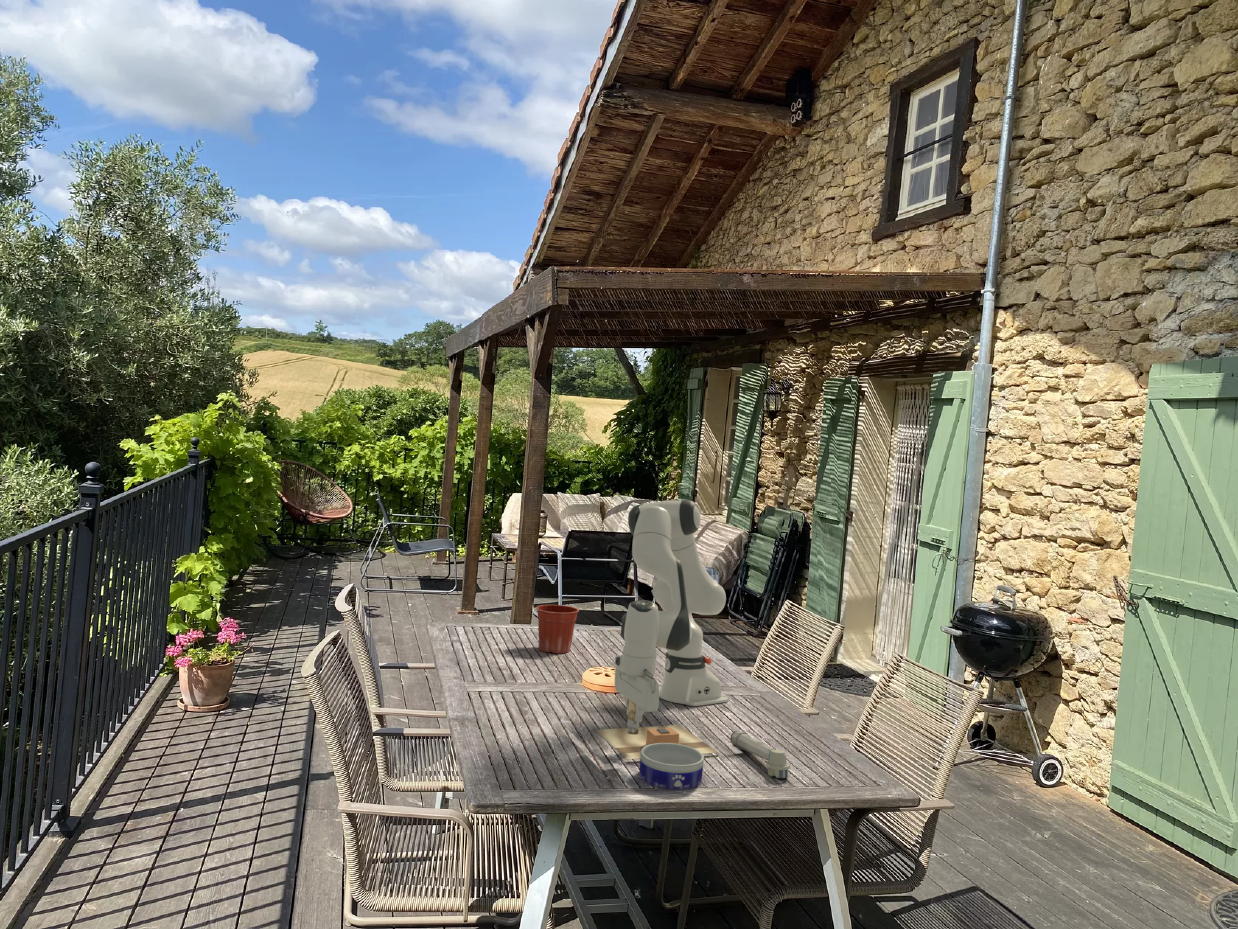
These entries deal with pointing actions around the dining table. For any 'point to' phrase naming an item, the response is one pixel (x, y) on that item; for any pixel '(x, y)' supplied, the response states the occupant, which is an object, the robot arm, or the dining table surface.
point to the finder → (662, 736)
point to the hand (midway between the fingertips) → (634, 718)
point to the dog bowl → (671, 766)
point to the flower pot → (556, 627)
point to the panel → (634, 743)
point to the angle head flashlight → (762, 753)
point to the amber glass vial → (632, 720)
